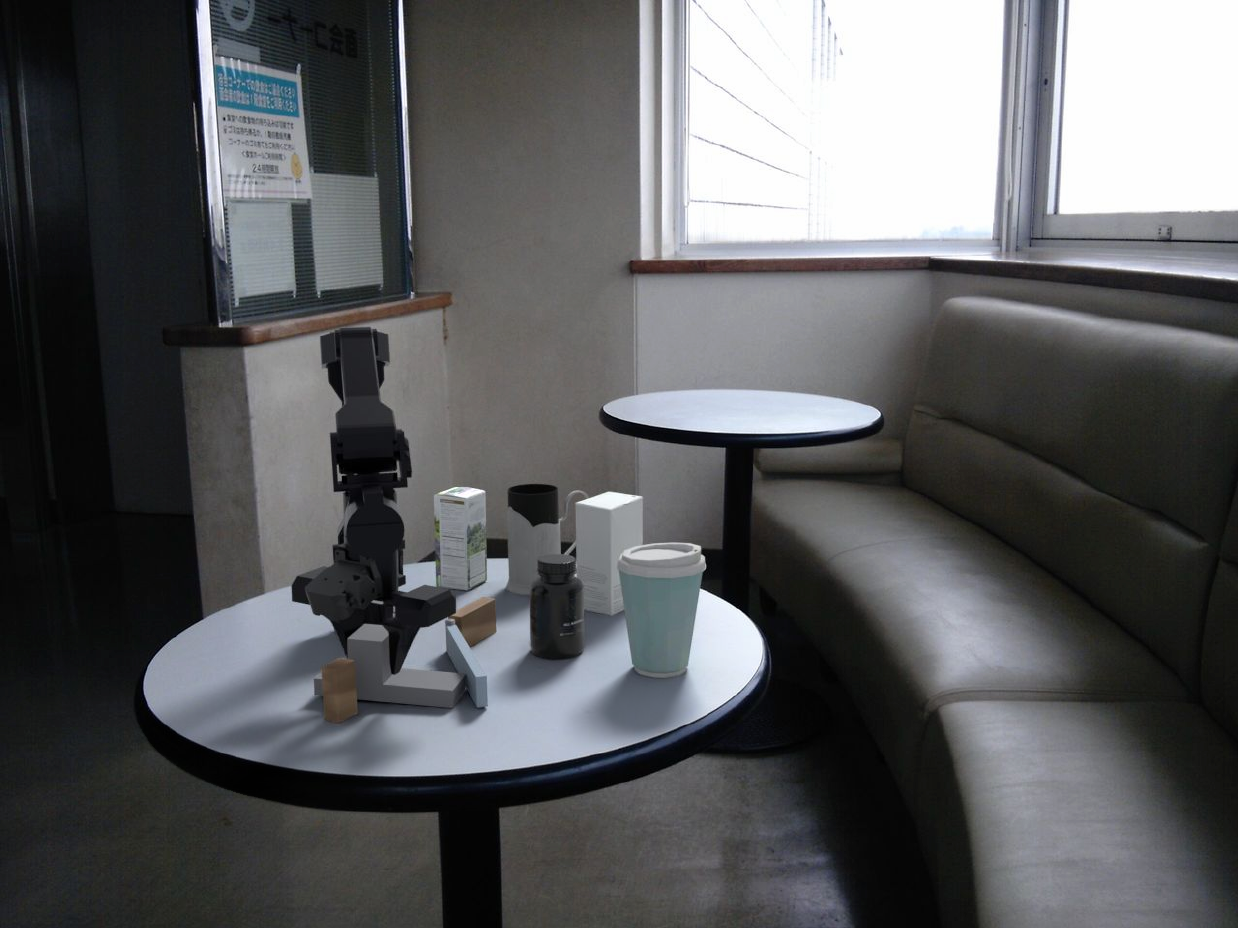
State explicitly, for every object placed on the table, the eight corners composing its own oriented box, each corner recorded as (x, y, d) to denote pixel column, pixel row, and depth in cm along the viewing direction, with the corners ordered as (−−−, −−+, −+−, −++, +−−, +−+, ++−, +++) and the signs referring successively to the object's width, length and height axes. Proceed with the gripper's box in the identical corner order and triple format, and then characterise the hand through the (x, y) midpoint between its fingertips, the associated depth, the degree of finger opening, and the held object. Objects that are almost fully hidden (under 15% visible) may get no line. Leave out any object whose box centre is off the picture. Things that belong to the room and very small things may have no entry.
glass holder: (495, 584, 163) (492, 487, 160) (576, 568, 171) (574, 476, 168) (523, 598, 156) (520, 497, 153) (605, 582, 164) (604, 485, 161)
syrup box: (455, 577, 167) (452, 485, 164) (488, 581, 164) (485, 488, 162) (435, 587, 162) (431, 493, 159) (469, 591, 159) (466, 496, 157)
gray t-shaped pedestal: (314, 695, 120) (312, 635, 119) (332, 678, 125) (331, 620, 124) (452, 707, 118) (452, 647, 117) (465, 690, 123) (465, 631, 121)
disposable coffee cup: (603, 678, 126) (602, 555, 123) (634, 648, 136) (633, 532, 133) (691, 690, 122) (691, 563, 119) (715, 658, 132) (716, 539, 129)
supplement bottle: (577, 662, 131) (576, 567, 129) (523, 658, 132) (521, 564, 130) (590, 643, 138) (589, 552, 135) (539, 639, 139) (536, 550, 137)
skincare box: (609, 594, 158) (608, 490, 155) (646, 602, 154) (646, 495, 151) (574, 609, 151) (572, 501, 148) (612, 617, 147) (611, 507, 144)
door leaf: (477, 707, 117) (475, 673, 116) (445, 649, 135) (444, 619, 134) (487, 706, 118) (486, 671, 117) (455, 648, 135) (453, 618, 134)
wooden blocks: (324, 719, 115) (321, 666, 114) (483, 629, 143) (482, 586, 142) (339, 723, 114) (336, 669, 113) (496, 631, 142) (495, 587, 141)
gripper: (252, 539, 114) (258, 677, 117) (394, 564, 106) (397, 711, 109) (323, 517, 124) (327, 645, 127) (458, 538, 116) (459, 674, 119)
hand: (374, 668), depth 120 cm, fingers open, 5 cm apart
